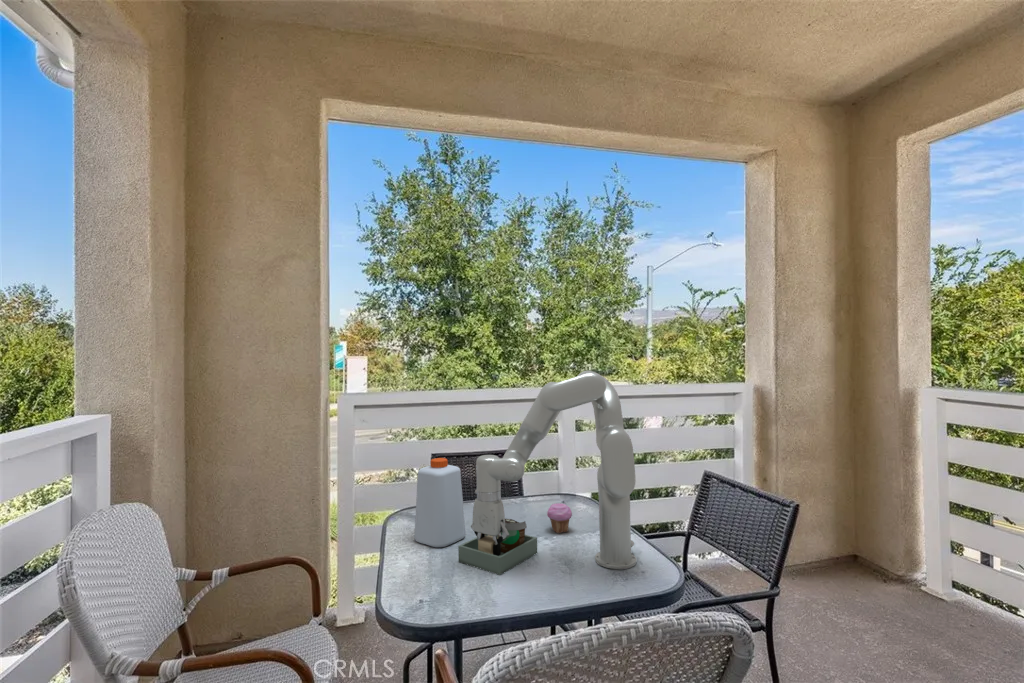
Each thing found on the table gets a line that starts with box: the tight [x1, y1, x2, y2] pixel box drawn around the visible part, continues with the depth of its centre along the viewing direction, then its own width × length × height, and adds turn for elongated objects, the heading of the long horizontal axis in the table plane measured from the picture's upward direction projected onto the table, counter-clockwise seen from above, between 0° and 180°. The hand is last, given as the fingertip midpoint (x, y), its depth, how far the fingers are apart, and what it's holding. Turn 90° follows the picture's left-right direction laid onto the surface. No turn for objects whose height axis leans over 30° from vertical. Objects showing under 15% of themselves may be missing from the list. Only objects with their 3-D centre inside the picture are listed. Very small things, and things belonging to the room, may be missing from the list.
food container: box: [497, 518, 527, 553], centre depth 165 cm, size 12×6×10 cm, turn 49°
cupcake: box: [546, 503, 573, 534], centre depth 184 cm, size 9×9×10 cm
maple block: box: [478, 535, 498, 554], centre depth 158 cm, size 5×5×5 cm
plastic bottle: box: [413, 457, 466, 548], centre depth 179 cm, size 15×15×28 cm
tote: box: [458, 534, 538, 576], centre depth 162 cm, size 20×17×5 cm
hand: (489, 553), depth 158 cm, fingers closed on maple block, 4 cm apart
